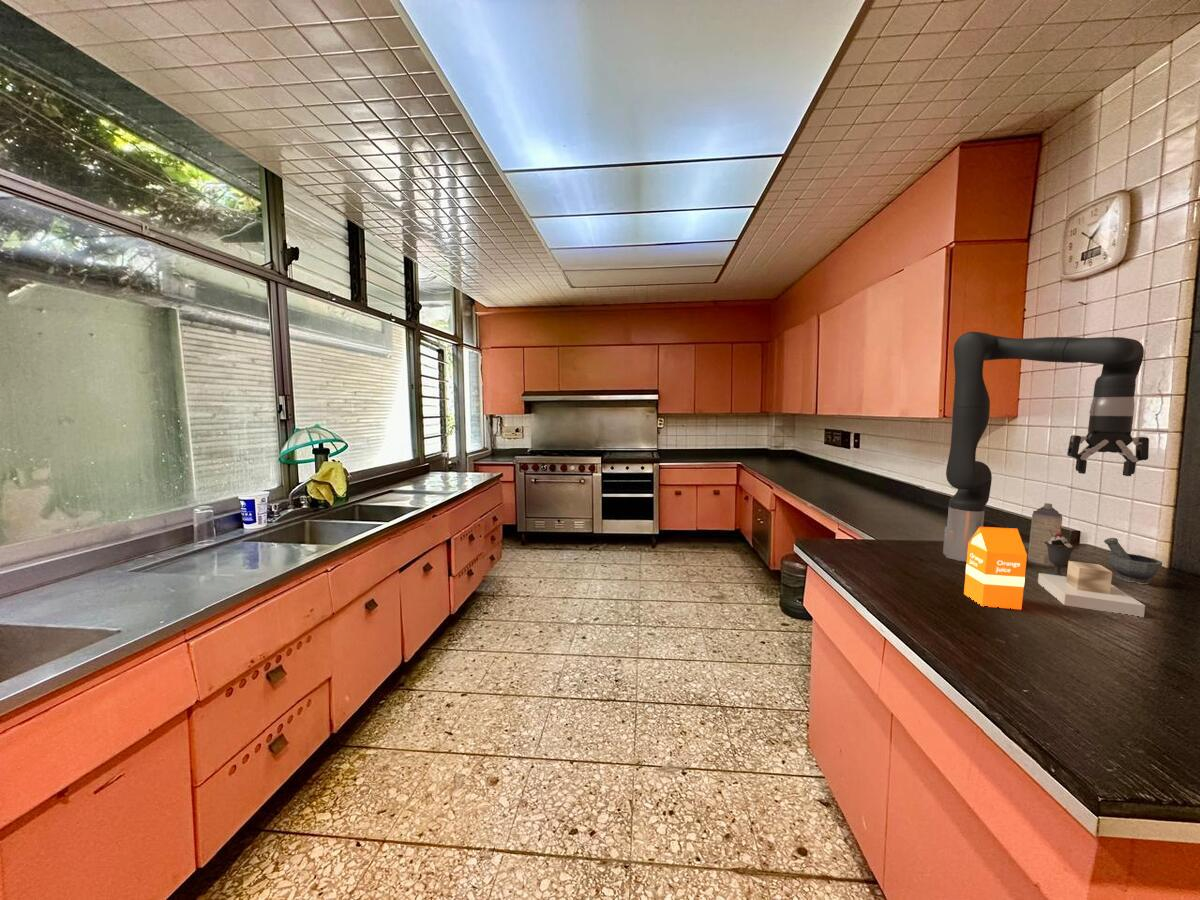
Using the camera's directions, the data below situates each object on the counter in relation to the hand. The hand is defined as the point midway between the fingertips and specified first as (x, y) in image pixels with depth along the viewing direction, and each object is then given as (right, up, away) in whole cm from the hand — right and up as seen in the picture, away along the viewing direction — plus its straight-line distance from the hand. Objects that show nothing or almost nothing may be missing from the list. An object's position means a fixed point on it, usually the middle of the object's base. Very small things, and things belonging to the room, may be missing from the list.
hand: (1103, 474), depth 116 cm
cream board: (-5, -33, -1) cm, 34 cm away
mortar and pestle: (+22, -32, +12) cm, 41 cm away
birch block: (-5, -30, -1) cm, 31 cm away
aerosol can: (+10, -31, +25) cm, 41 cm away
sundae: (+3, -32, +14) cm, 35 cm away
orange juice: (-32, -34, -2) cm, 47 cm away
